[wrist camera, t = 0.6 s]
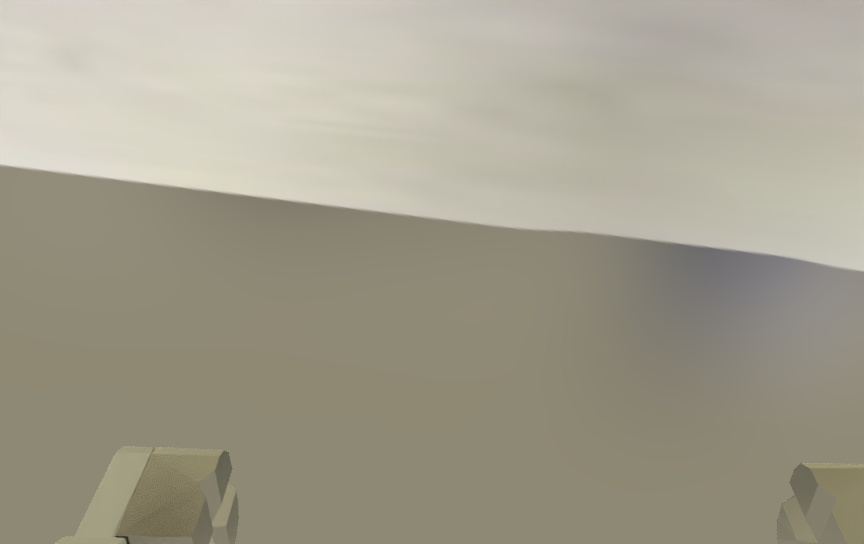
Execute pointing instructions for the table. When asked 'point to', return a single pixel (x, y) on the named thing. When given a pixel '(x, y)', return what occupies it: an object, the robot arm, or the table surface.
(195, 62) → the table surface
